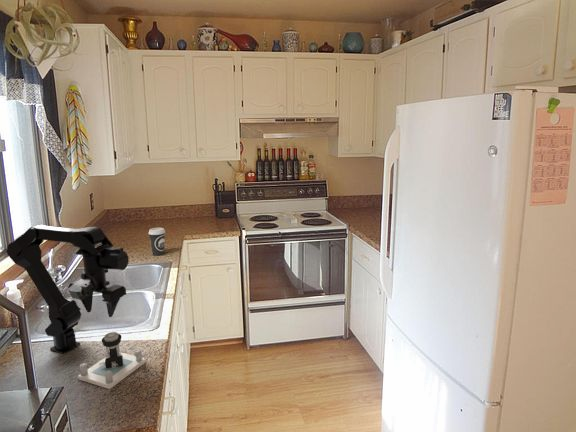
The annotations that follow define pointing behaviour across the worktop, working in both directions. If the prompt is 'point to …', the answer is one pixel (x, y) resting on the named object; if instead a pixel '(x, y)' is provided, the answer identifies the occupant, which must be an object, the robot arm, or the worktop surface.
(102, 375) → the board
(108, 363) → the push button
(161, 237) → the coffee cup
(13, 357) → the worktop surface
